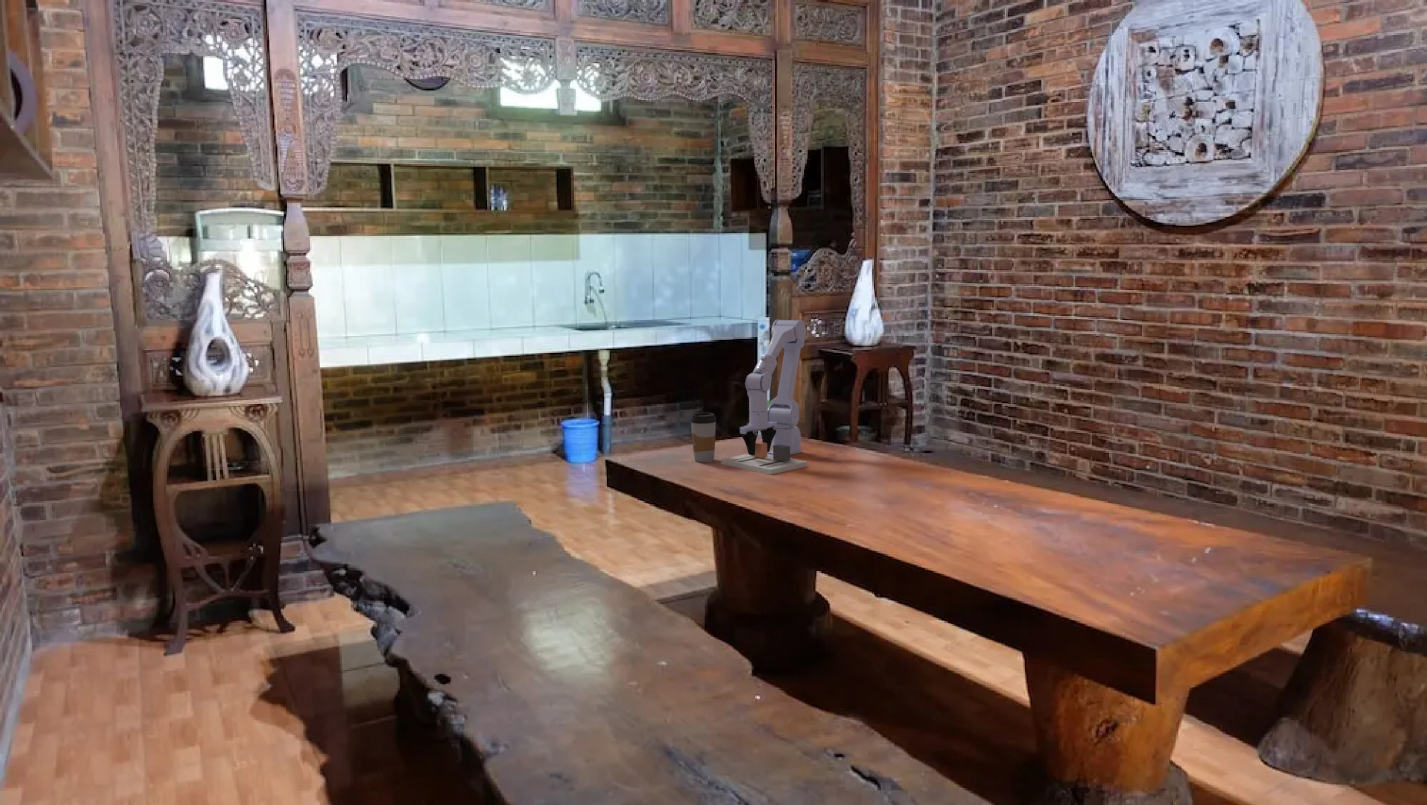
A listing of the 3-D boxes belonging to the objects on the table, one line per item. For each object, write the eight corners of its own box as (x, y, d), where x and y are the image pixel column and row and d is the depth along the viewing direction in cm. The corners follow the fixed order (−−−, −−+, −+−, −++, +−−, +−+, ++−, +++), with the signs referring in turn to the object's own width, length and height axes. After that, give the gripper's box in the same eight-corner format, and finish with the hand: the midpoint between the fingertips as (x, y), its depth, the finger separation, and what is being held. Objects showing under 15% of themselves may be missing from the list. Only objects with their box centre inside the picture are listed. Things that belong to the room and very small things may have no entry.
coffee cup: (687, 459, 320) (686, 413, 318) (710, 456, 324) (709, 411, 322) (697, 464, 313) (696, 417, 311) (721, 461, 316) (720, 415, 314)
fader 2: (778, 458, 310) (778, 444, 310) (790, 460, 307) (790, 446, 306) (773, 459, 309) (773, 445, 308) (784, 461, 305) (784, 447, 304)
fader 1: (756, 454, 316) (756, 441, 316) (767, 456, 313) (767, 443, 312) (750, 455, 315) (750, 442, 314) (761, 458, 311) (761, 444, 310)
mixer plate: (757, 456, 323) (757, 451, 323) (806, 466, 307) (806, 461, 307) (721, 464, 312) (720, 459, 312) (770, 474, 296) (770, 469, 296)
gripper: (765, 406, 319) (766, 448, 321) (732, 412, 310) (733, 455, 312) (781, 409, 314) (781, 451, 316) (748, 414, 304) (749, 458, 306)
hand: (759, 453), depth 313 cm, fingers open, 6 cm apart
